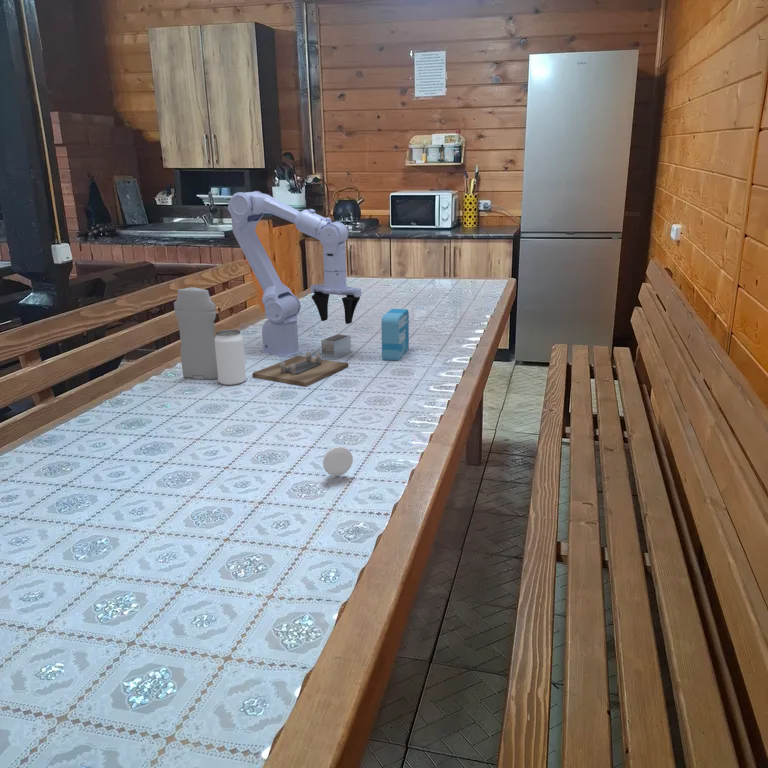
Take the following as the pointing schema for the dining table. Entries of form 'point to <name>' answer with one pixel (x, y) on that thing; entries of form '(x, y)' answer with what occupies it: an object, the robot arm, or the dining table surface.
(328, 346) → the block
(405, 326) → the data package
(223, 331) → the can
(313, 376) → the pin tray
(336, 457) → the grey oval shape
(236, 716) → the dining table surface
